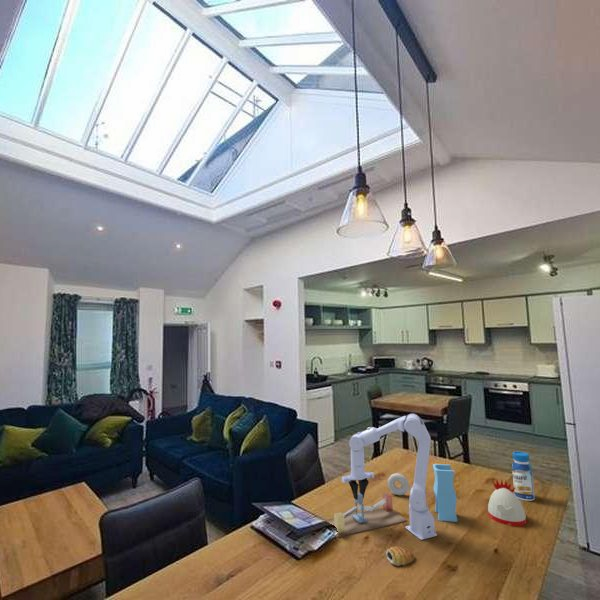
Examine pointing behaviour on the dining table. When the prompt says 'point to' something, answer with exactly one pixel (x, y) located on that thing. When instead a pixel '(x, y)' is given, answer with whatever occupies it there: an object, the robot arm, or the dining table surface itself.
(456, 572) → the dining table surface
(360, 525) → the tan flat sheet
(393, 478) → the donut
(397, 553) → the pastry
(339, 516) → the jointed linkage mechanism
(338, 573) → the dining table surface
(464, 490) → the dining table surface
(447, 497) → the vase
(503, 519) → the kitchen timer
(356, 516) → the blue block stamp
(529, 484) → the beverage bottle
